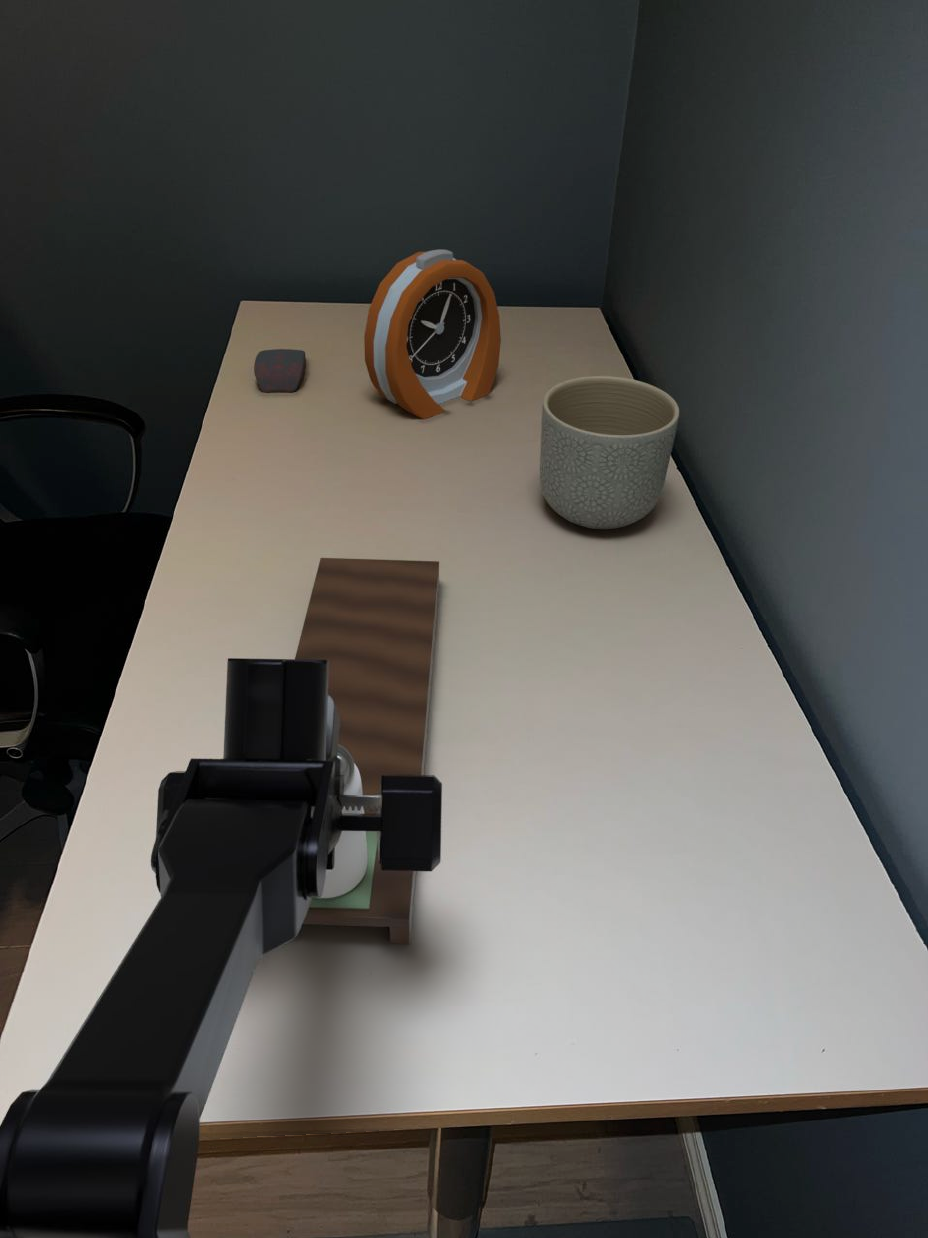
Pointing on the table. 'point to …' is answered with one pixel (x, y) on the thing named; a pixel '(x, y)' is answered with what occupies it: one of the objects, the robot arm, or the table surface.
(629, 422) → the planter
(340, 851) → the can
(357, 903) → the shelf
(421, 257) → the alarm clock
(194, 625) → the table surface
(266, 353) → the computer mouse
